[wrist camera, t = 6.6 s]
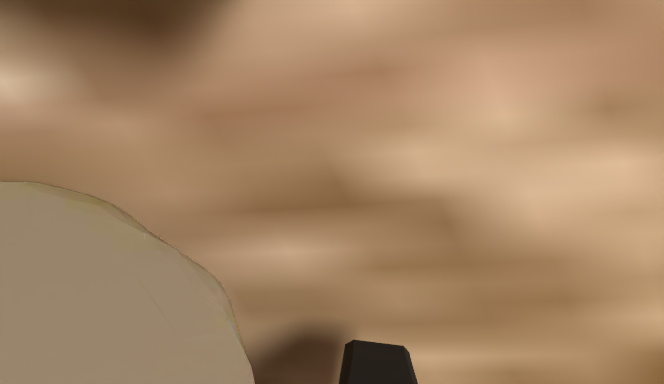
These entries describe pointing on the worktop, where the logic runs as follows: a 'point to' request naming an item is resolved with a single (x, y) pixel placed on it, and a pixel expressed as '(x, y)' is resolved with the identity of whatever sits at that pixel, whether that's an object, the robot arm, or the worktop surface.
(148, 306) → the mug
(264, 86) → the worktop surface
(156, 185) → the worktop surface
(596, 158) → the worktop surface
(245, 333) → the worktop surface
